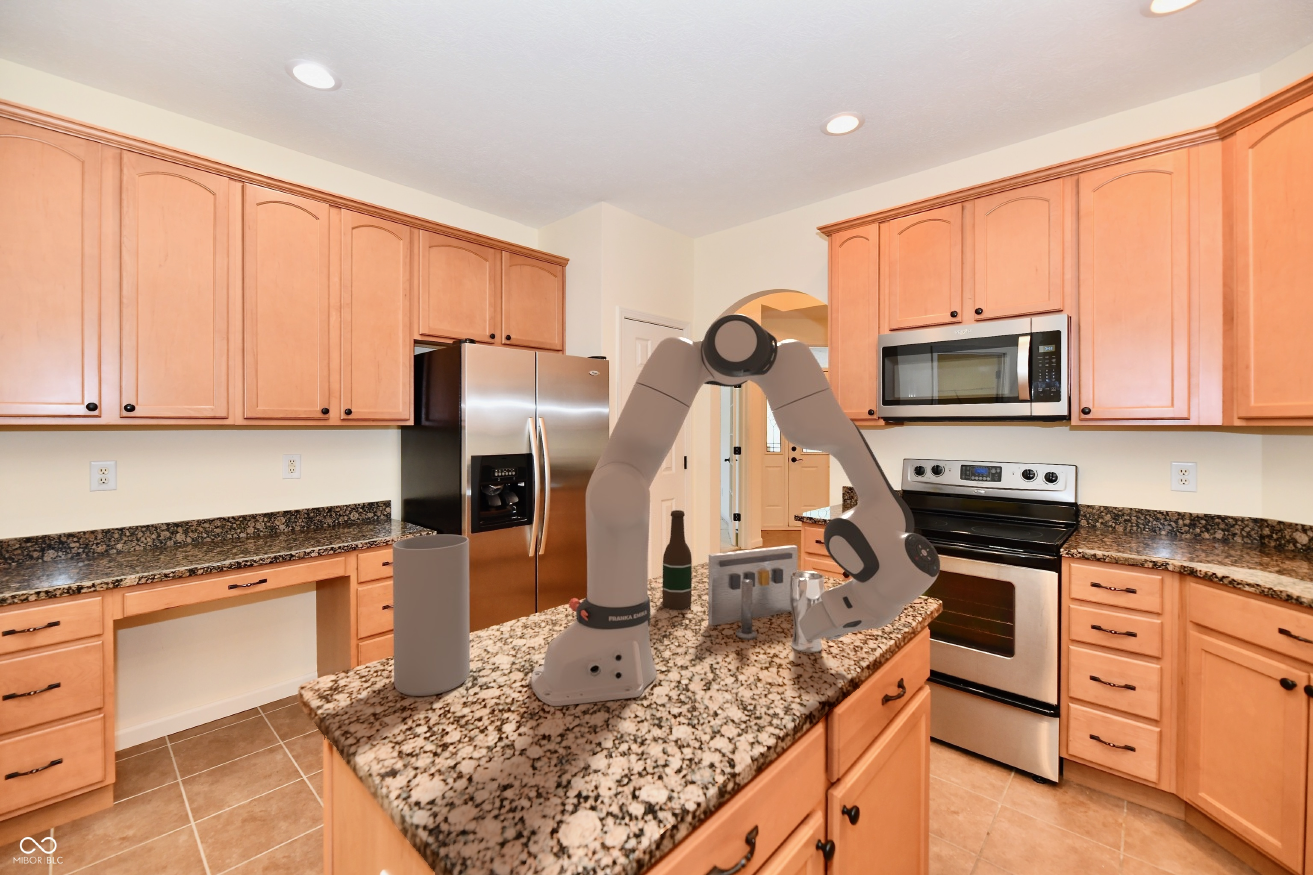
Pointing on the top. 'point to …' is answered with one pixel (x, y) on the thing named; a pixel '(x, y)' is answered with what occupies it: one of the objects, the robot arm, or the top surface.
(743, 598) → the post left
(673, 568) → the beer bottle
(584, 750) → the top surface
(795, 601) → the beer glass
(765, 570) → the panel
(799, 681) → the top surface
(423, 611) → the cylinder vase
